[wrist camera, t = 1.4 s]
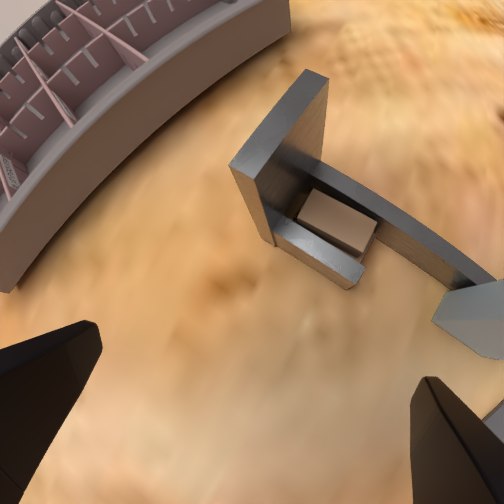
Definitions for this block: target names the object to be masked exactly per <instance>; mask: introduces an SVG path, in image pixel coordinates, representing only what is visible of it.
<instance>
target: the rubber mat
mask: <svg viewBox="0 0 504 504" xmlns="http://www.w3.org/2000/svg"><path fill="white" fill-rule="evenodd" d="M482 422H483V423H484V424H485V425H486V426H487V427H488V428H489V429H490V430H491V431H492V432H493V433H494V434H495V435H496V436H497V437H498V438H499V439H500V440H501V441H502V442H503V443H504V400H503V401H502V402H501V403H500V404H499V405H498V406H496V407H495V408H494V409H493V410H492V411H491V412H490V413H489V414H488V415H487V416H486V417H485V418H483V419H482Z"/></svg>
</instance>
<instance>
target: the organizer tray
mask: <svg viewBox="0 0 504 504" xmlns="http://www.w3.org/2000/svg"><path fill="white" fill-rule="evenodd" d="M289 32H291V22H290V9H289V0H49V1H48V2H47V3H45V4H44V5H43V6H42V7H41V8H40V9H38V10H37V11H36V12H35V13H34V14H33V15H31V16H30V17H29V18H28V19H27V20H26V21H25V22H24V23H23V24H21V26H19V27H18V28H17V29H16V30H15V31H14V32H13V33H12V34H11V35H10V36H9V37H8V38H7V39H6V40H5V41H4V42H3V43H2V44H1V45H0V292H4V293H10V292H11V290H12V289H13V288H14V286H15V285H16V283H17V282H18V281H19V279H20V278H21V276H22V275H23V274H24V272H25V271H26V270H27V268H28V267H29V266H30V264H31V263H32V262H33V260H34V259H35V258H36V257H37V255H38V254H39V253H40V251H41V250H42V249H43V248H44V246H45V245H46V244H47V243H48V241H49V240H50V239H51V238H52V237H53V235H54V234H55V233H56V232H57V231H58V229H59V228H60V227H61V226H62V225H63V224H64V222H65V221H66V220H67V219H68V218H69V217H70V215H71V214H72V213H73V212H74V211H75V210H76V209H77V208H78V207H79V205H80V204H81V203H82V202H83V201H84V200H85V199H86V198H87V197H88V196H89V195H90V193H91V192H92V191H93V190H94V189H95V188H96V187H97V186H98V185H99V184H100V183H101V182H102V181H103V180H104V179H105V178H106V177H107V176H108V175H109V174H110V173H111V172H112V171H113V170H114V169H115V168H116V167H117V166H118V165H119V164H120V163H121V162H122V161H123V160H124V159H125V158H126V157H127V156H128V155H129V154H130V153H131V152H133V151H134V150H135V149H136V148H137V147H138V146H139V145H140V144H141V143H142V142H143V141H144V140H146V139H147V138H148V137H149V136H150V135H151V134H152V133H153V132H154V131H156V130H157V129H158V128H159V127H160V126H161V125H163V124H164V123H165V122H166V121H167V120H168V119H170V118H171V117H172V116H173V115H174V114H175V113H177V112H178V111H179V110H180V109H182V108H183V107H184V106H185V105H186V104H188V103H189V102H190V101H191V100H193V99H194V98H195V97H197V96H198V95H199V94H200V93H202V92H203V91H204V90H206V89H207V88H208V87H210V86H211V85H212V84H214V83H215V82H216V81H218V80H219V79H220V78H222V77H223V76H224V75H226V74H227V73H229V72H230V71H231V70H233V69H234V68H236V67H237V66H238V65H240V64H241V63H243V62H244V61H246V60H247V59H249V58H250V57H252V56H253V55H255V54H256V53H258V52H259V51H261V50H262V49H264V48H265V47H267V46H268V45H270V44H272V43H273V42H275V41H276V40H278V39H280V38H281V37H283V36H284V35H286V34H288V33H289ZM110 175H111V174H110Z"/></svg>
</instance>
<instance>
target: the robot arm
mask: <svg viewBox="0 0 504 504" xmlns="http://www.w3.org/2000/svg"><path fill="white" fill-rule="evenodd" d="M102 348H103V346H102V341H101V337H100V333H99V329H98V326H97V324H96V323H94V322H91V321H87V320H82V321H80V322H77V323H74V324H71V325H68V326H65V327H63V328H60V329H57V330H54V331H51V332H48V333H46V334H43V335H40V336H37V337H34V338H31V339H29V340H26V341H23V342H20V343H17V344H14V345H11V346H9V347H6V348H3V349H0V504H19V502H20V500H21V498H22V496H23V494H24V492H25V490H26V488H27V486H28V484H29V482H30V481H31V479H32V477H33V475H34V473H35V471H36V469H37V468H38V466H39V464H40V462H41V460H42V459H43V457H44V455H45V453H46V452H47V450H48V448H49V446H50V445H51V443H52V441H53V439H54V438H55V436H56V434H57V433H58V431H59V429H60V427H61V426H62V424H63V422H64V421H65V419H66V417H67V416H68V414H69V412H70V411H71V409H72V408H73V406H74V404H75V403H76V401H77V399H78V398H79V396H80V394H81V393H82V391H83V389H84V387H85V385H86V383H87V381H88V379H89V377H90V375H91V373H92V371H93V369H94V367H95V365H96V363H97V361H98V359H99V357H100V355H101V353H102ZM410 460H411V473H412V489H413V504H504V443H503V442H502V441H501V440H500V439H499V438H498V437H497V436H496V435H495V434H494V433H493V432H492V431H491V430H490V429H489V428H488V427H487V426H486V425H485V424H484V423H483V422H482V420H481V419H480V418H479V417H478V416H477V415H476V414H475V413H474V412H473V411H472V410H471V409H470V408H469V407H468V406H467V405H466V404H465V403H464V402H463V401H462V400H461V399H460V398H458V397H457V396H456V395H455V394H454V393H453V392H452V391H451V390H450V389H449V388H448V387H447V386H446V385H445V384H444V383H443V382H442V381H441V380H440V379H439V378H438V377H430V376H425V377H423V378H422V379H421V380H420V382H419V384H418V386H417V389H416V391H415V393H414V394H413V396H412V399H411V403H410Z"/></svg>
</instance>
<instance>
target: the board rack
mask: <svg viewBox="0 0 504 504" xmlns="http://www.w3.org/2000/svg"><path fill="white" fill-rule="evenodd" d="M328 88H329V78H327V77H324V76H322V75H320V74H317V73H315V72H313V71H310V70H308V69H305V70H304V71H303V73H302V74H301V75H300V76H299V77H298V78H297V80H296V81H295V82H294V83H293V84H292V86H291V87H290V88H289V89H288V90H287V92H286V93H285V94H284V95H283V96H282V98H281V99H280V100H279V101H278V102H277V104H276V105H275V106H274V107H273V109H272V110H271V111H270V112H269V114H268V115H267V116H266V117H265V119H264V120H263V121H262V122H261V124H260V125H259V126H258V127H257V129H256V130H255V131H254V132H253V134H252V135H251V136H250V137H249V139H248V140H247V141H246V143H245V144H244V145H243V147H242V148H241V149H240V150H239V152H238V153H237V154H236V156H235V157H234V158H233V160H232V161H231V162H230V164H229V167H230V170H231V172H232V174H233V176H234V178H235V181H236V183H237V185H238V187H239V189H240V192H241V194H242V196H243V198H244V200H245V203H246V205H247V207H248V209H249V212H250V214H251V216H252V218H253V220H254V223H255V225H256V227H257V229H258V232H259V234H260V236H261V238H262V239H263V240H265V241H267V242H268V243H270V244H271V245H273V246H274V247H275V246H276V245H277V246H278V247H280V248H281V249H283V250H284V251H286V252H288V253H289V254H291V255H292V256H294V257H295V258H297V259H299V260H300V261H302V262H303V263H305V264H306V265H308V266H310V267H311V268H313V269H314V270H316V271H317V272H319V273H320V274H322V275H324V276H325V277H327V278H328V279H330V280H331V281H333V282H334V283H336V284H337V285H339V286H341V287H342V288H344V289H345V290H347V289H349V288H350V287H352V286H354V285H356V283H357V282H358V280H359V278H360V277H361V275H362V273H363V272H364V270H365V268H366V267H364V266H363V265H361V264H360V263H358V262H357V261H355V260H354V259H352V258H351V257H349V256H348V255H346V254H344V253H343V252H341V251H340V250H338V249H337V248H335V247H333V246H332V245H330V244H329V243H327V242H326V241H324V240H322V239H321V238H319V237H318V236H316V235H314V234H313V233H311V232H310V231H308V230H306V229H305V228H303V227H301V226H300V225H298V224H297V223H295V222H293V219H294V218H295V216H296V215H297V213H298V212H299V210H300V209H301V207H302V206H303V204H304V203H305V201H306V200H307V198H308V197H309V195H310V193H311V192H312V190H313V188H314V189H316V190H318V191H320V192H321V193H323V194H325V195H327V196H329V197H331V198H333V199H335V200H337V201H339V202H341V203H343V204H345V205H347V206H349V207H350V208H352V209H354V210H356V211H358V212H360V213H362V214H363V215H365V216H367V217H369V218H371V219H373V220H374V221H376V222H377V224H376V226H375V228H374V231H373V233H374V234H375V235H376V236H375V238H377V239H378V240H380V241H381V242H383V243H384V244H386V245H387V246H389V247H390V248H392V249H393V250H395V251H396V252H398V253H399V254H401V255H402V256H404V257H405V258H407V259H408V260H410V261H411V262H413V263H414V264H415V265H417V266H418V267H420V268H421V269H423V270H424V271H426V272H427V273H428V274H430V275H431V276H433V277H434V278H435V279H437V280H438V281H440V282H441V283H442V284H444V285H445V286H447V287H448V288H449V289H451V290H452V291H454V290H459V289H463V288H468V287H472V286H477V285H481V284H485V283H490V282H494V281H497V280H496V279H495V278H494V277H492V276H491V275H490V274H489V273H487V272H486V271H485V270H484V269H482V268H481V267H480V266H479V265H477V264H476V263H475V262H474V261H472V260H471V259H470V258H468V257H467V256H466V255H464V254H463V253H462V252H461V251H459V250H458V249H457V248H455V247H454V246H452V245H451V244H450V243H448V242H447V241H446V240H444V239H443V238H442V237H440V236H439V235H437V234H436V233H435V232H433V231H432V230H430V229H429V228H427V227H426V226H425V225H423V224H422V223H420V222H419V221H417V220H416V219H414V218H413V217H411V216H410V215H408V214H407V213H405V212H404V211H402V210H401V209H399V208H398V207H396V206H395V205H393V204H392V203H390V202H389V201H387V200H385V199H384V198H382V197H381V196H379V195H377V194H376V193H374V192H373V191H371V190H369V189H368V188H366V187H365V186H363V185H361V184H360V183H358V182H356V181H355V180H353V179H351V178H350V177H348V176H346V175H344V174H343V173H341V172H339V171H338V170H336V169H334V168H332V167H331V166H329V165H327V164H325V163H323V162H322V161H321V153H322V145H323V136H324V127H325V118H326V108H327V98H328Z"/></svg>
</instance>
